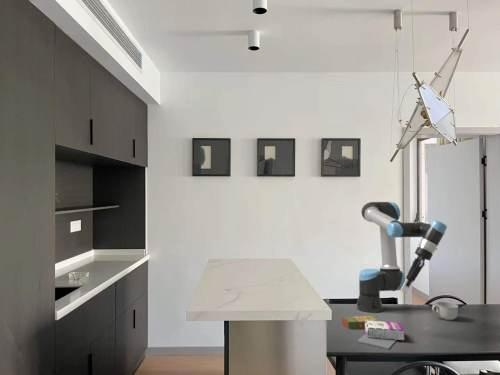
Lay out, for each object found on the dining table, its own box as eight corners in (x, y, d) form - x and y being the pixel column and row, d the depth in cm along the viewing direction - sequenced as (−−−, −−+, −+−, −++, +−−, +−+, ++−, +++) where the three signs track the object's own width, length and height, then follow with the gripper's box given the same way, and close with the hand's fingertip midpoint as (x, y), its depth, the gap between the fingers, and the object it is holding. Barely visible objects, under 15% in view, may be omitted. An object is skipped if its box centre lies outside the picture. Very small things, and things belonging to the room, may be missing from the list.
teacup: (452, 315, 208) (452, 301, 209) (462, 322, 198) (461, 307, 198) (427, 314, 210) (427, 300, 210) (435, 321, 199) (434, 306, 199)
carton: (378, 328, 187) (378, 320, 187) (348, 330, 185) (348, 321, 185) (370, 323, 195) (370, 315, 196) (342, 324, 193) (342, 316, 193)
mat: (368, 332, 180) (368, 331, 180) (397, 339, 172) (397, 338, 172) (357, 341, 168) (357, 340, 168) (388, 349, 160) (388, 348, 160)
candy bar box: (399, 332, 179) (364, 329, 183) (399, 322, 180) (364, 319, 183) (404, 341, 169) (367, 337, 172) (404, 330, 169) (367, 327, 172)
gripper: (436, 254, 174) (413, 297, 173) (429, 253, 187) (407, 294, 186) (421, 246, 176) (398, 289, 175) (415, 246, 189) (393, 286, 188)
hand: (403, 292), depth 180 cm, fingers closed
